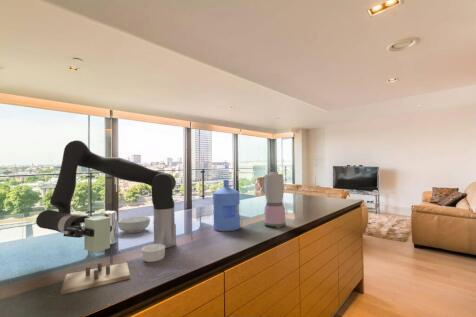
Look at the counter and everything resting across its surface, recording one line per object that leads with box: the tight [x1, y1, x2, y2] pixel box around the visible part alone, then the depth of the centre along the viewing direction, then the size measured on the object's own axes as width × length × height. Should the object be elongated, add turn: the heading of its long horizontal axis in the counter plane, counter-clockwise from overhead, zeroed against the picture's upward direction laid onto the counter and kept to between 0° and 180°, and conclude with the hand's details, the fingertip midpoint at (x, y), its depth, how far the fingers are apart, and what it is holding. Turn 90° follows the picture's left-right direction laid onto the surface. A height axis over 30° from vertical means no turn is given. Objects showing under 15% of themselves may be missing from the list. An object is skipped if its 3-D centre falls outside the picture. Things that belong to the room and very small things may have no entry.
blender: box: [261, 171, 287, 229], centre depth 141 cm, size 16×12×32 cm
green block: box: [83, 215, 111, 254], centre depth 77 cm, size 6×5×10 cm
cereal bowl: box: [117, 216, 151, 234], centre depth 134 cm, size 17×17×7 cm
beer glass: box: [100, 210, 118, 246], centre depth 114 cm, size 7×7×15 cm
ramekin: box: [141, 243, 166, 263], centre depth 93 cm, size 9×9×4 cm
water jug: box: [212, 179, 241, 232], centre depth 137 cm, size 16×16×28 cm
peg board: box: [60, 261, 131, 295], centre depth 77 cm, size 18×12×4 cm, turn 120°
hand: (102, 231), depth 76 cm, fingers closed on green block, 5 cm apart
